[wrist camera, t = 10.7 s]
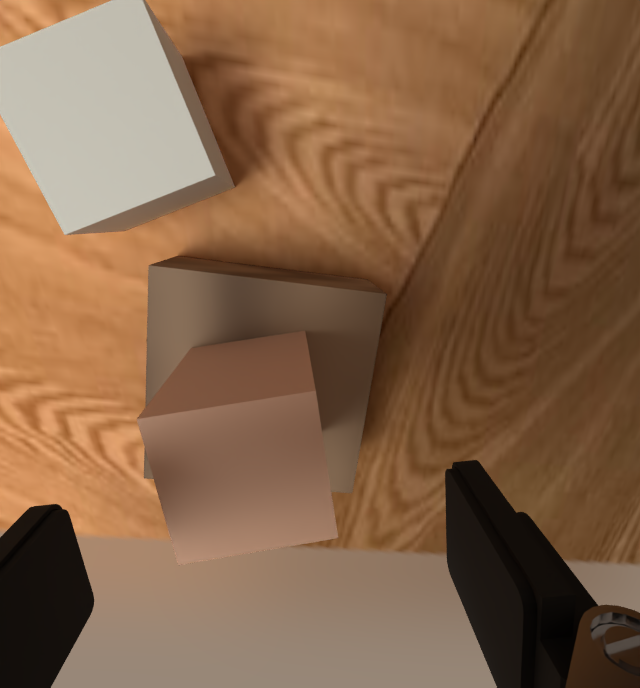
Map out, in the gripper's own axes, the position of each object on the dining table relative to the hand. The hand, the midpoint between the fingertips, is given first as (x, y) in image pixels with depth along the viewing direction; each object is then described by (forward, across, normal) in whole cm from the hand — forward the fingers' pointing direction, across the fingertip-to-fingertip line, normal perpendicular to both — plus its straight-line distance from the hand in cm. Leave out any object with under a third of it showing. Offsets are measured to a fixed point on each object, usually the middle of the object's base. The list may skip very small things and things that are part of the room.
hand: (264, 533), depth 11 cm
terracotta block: (+9, +1, 0) cm, 9 cm away
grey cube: (+14, +5, -11) cm, 19 cm away
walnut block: (+14, +1, 0) cm, 14 cm away
